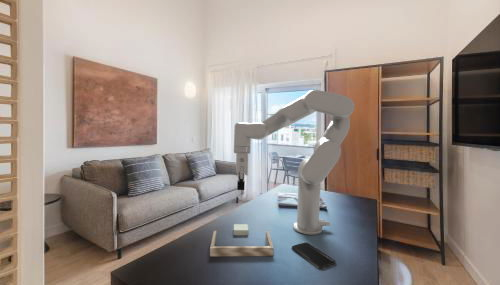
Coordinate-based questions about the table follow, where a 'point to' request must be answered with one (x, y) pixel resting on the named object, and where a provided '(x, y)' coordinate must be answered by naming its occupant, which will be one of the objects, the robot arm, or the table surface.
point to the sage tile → (240, 229)
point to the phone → (314, 255)
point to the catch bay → (241, 249)
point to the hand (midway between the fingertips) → (240, 189)
